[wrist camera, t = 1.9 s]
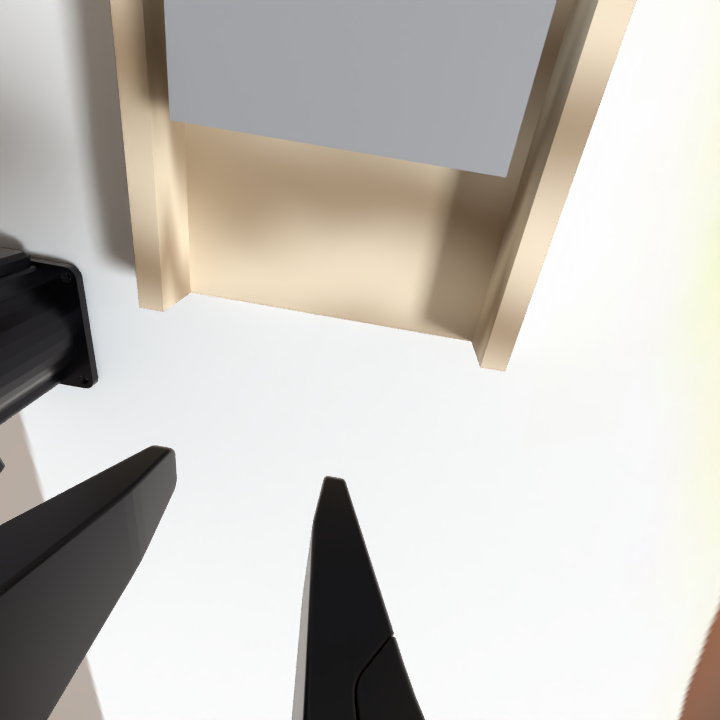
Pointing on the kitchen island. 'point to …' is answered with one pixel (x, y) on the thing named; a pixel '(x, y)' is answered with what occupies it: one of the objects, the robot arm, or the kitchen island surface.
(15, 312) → the robot arm
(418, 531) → the kitchen island surface
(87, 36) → the kitchen island surface
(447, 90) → the slate block
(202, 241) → the beige wooden tray
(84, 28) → the kitchen island surface
